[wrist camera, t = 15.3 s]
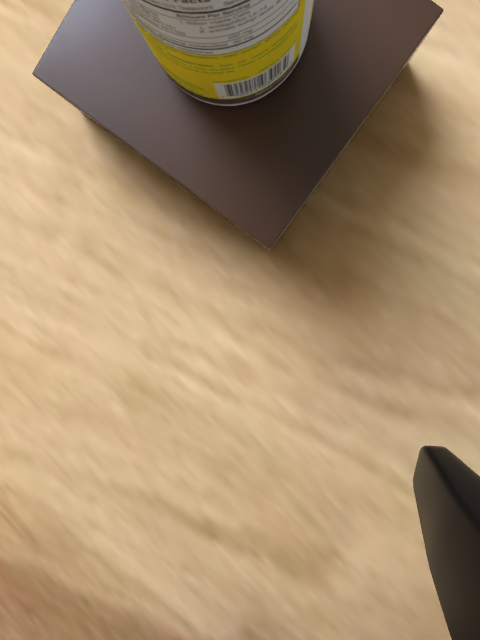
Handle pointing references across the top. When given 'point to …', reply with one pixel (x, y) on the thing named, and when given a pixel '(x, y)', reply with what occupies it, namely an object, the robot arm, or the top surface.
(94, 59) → the walnut shelf
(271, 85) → the supplement bottle
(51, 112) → the top surface
